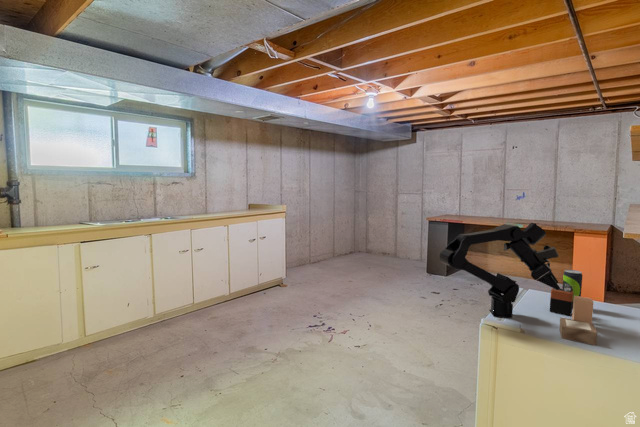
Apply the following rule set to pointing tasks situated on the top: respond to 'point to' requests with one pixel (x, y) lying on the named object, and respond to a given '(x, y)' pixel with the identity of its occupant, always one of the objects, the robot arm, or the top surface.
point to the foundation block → (578, 331)
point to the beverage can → (573, 282)
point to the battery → (561, 301)
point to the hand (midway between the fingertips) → (558, 286)
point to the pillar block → (582, 309)
